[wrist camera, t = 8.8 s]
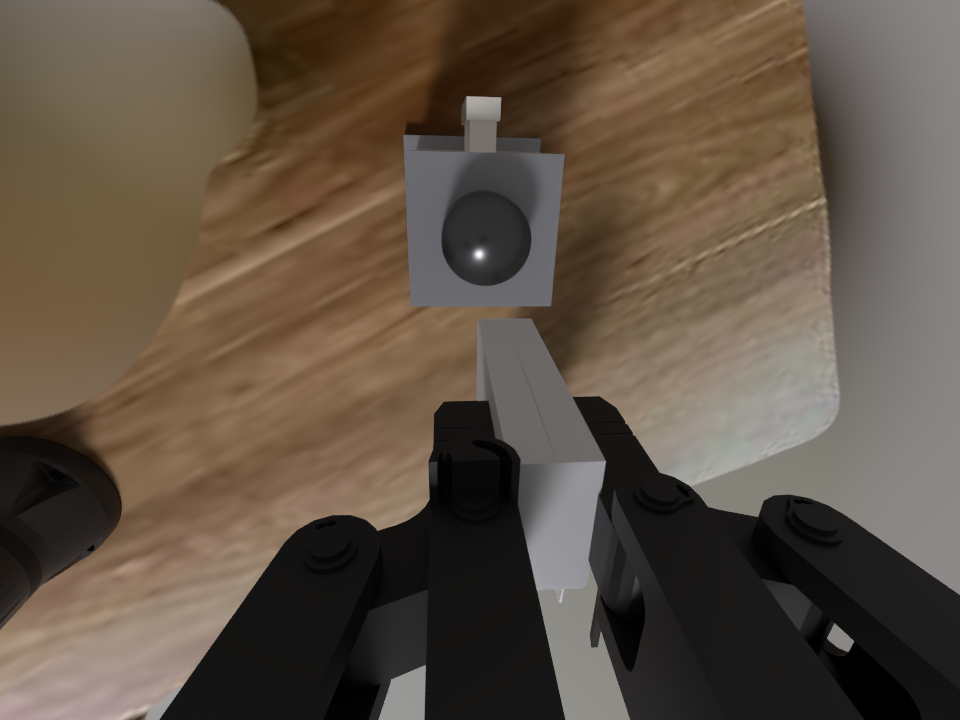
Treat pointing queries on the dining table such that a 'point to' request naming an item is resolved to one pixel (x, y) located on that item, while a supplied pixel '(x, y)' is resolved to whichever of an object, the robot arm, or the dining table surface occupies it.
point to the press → (468, 168)
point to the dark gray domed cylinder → (485, 238)
